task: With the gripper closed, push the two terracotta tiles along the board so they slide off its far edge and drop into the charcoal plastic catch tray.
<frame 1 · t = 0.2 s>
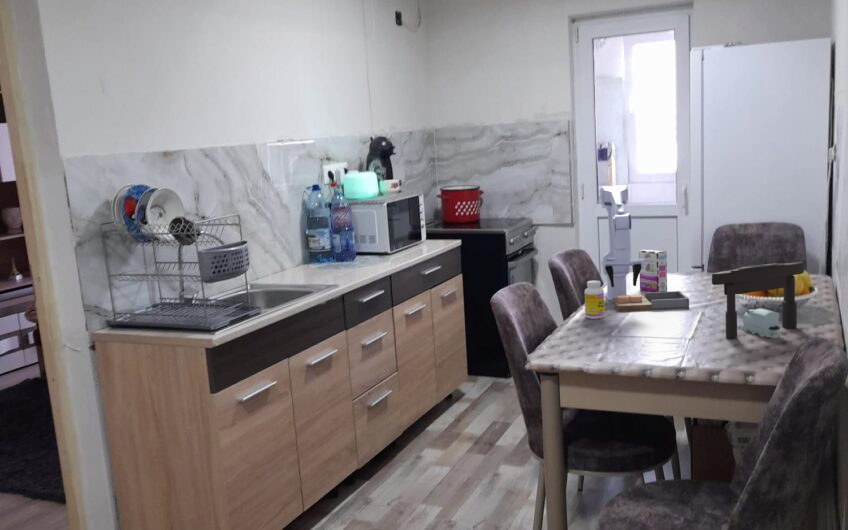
hand: (623, 286, 275), 10 cm above the table, tool pointing down, fingers open, 7 cm apart
supplement bottle: (595, 317, 273), on the table
far tile: (635, 301, 285), point 2 cm above the table, touching board
tray: (666, 304, 284), on the table
board: (631, 306, 285), on the table
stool: (759, 332, 239), on the table
near tile: (623, 301, 285), point 2 cm above the table, touching board
candy bar box: (653, 291, 310), on the table
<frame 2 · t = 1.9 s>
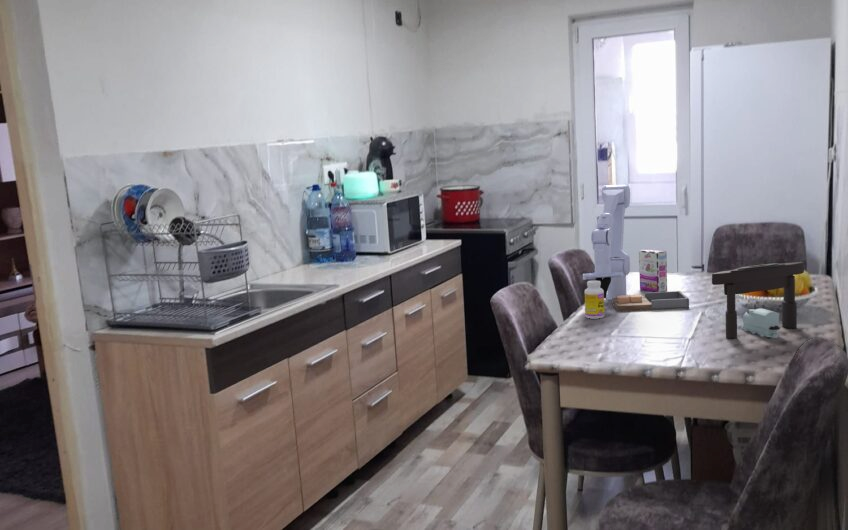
hand: (603, 297, 286), 4 cm above the table, tool pointing down, fingers closed
nothing on the table moved.
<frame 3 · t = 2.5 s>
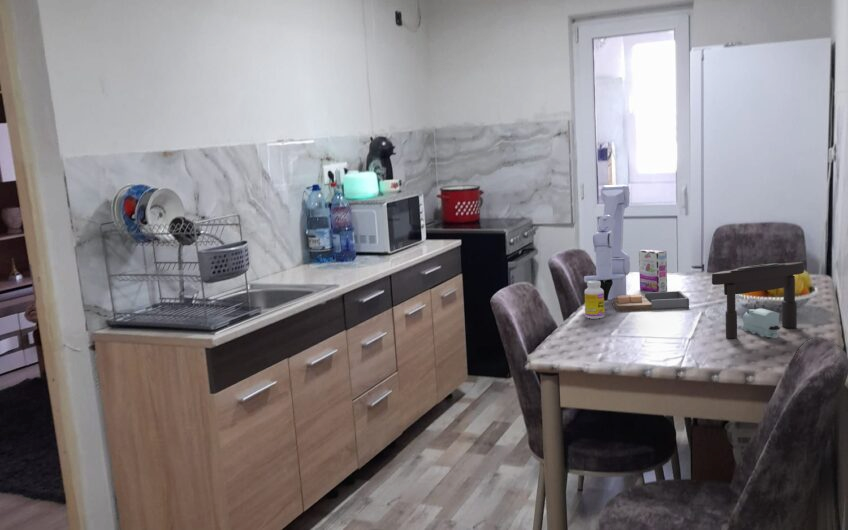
hand: (605, 300, 286), 3 cm above the table, tool pointing down, fingers closed
nothing on the table moved.
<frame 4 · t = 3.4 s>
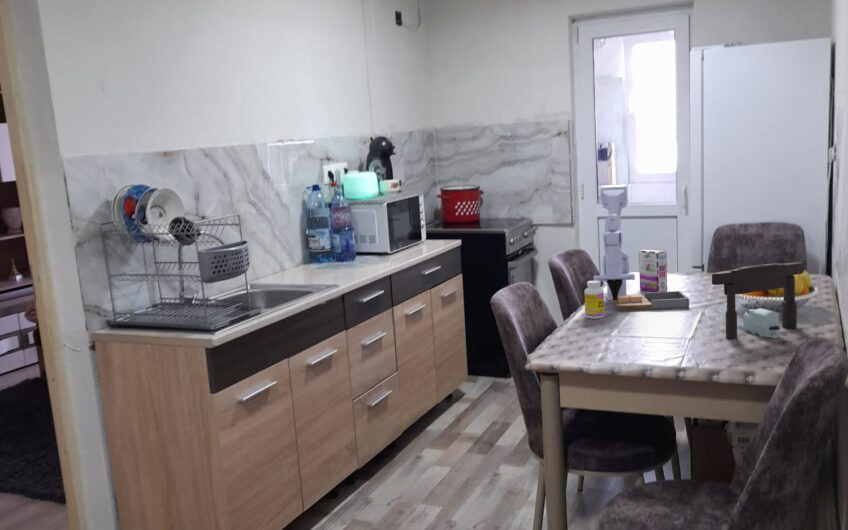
hand: (615, 299, 286), 3 cm above the table, tool pointing down, fingers closed
near tile: (623, 301, 285), point 2 cm above the table, touching board, gripper
everything else where it was.
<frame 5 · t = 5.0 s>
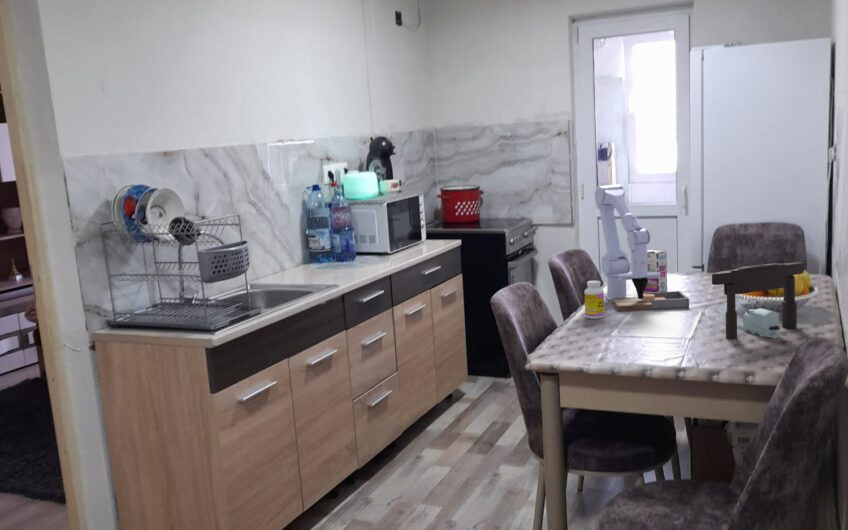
hand: (640, 298, 284), 3 cm above the table, tool pointing down, fingers closed
far tile: (659, 304, 284), resting on tray
near tile: (648, 300, 284), point 2 cm above the table, touching board, gripper
everything else where it was.
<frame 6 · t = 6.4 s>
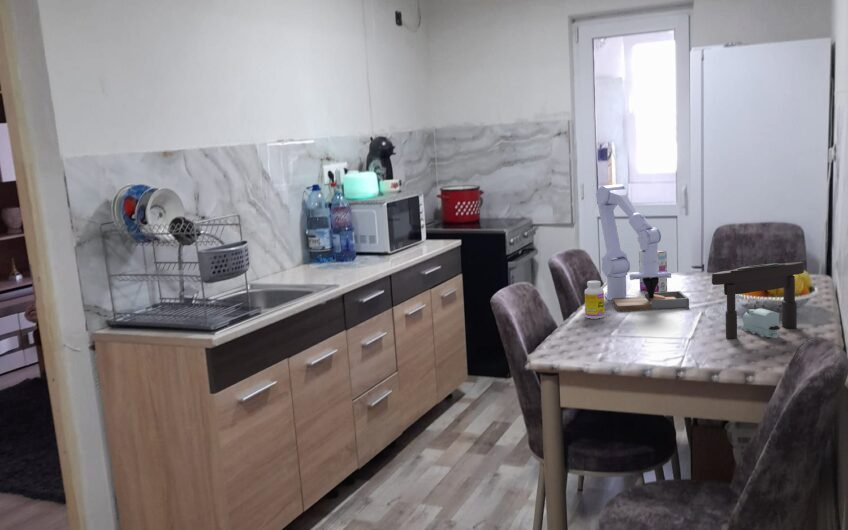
hand: (650, 297, 284), 3 cm above the table, tool pointing down, fingers closed
far tile: (669, 303, 284), resting on tray, touching near tile
near tile: (657, 301, 284), point 2 cm above the table, tilted 13°, touching far tile, gripper
everything else where it was.
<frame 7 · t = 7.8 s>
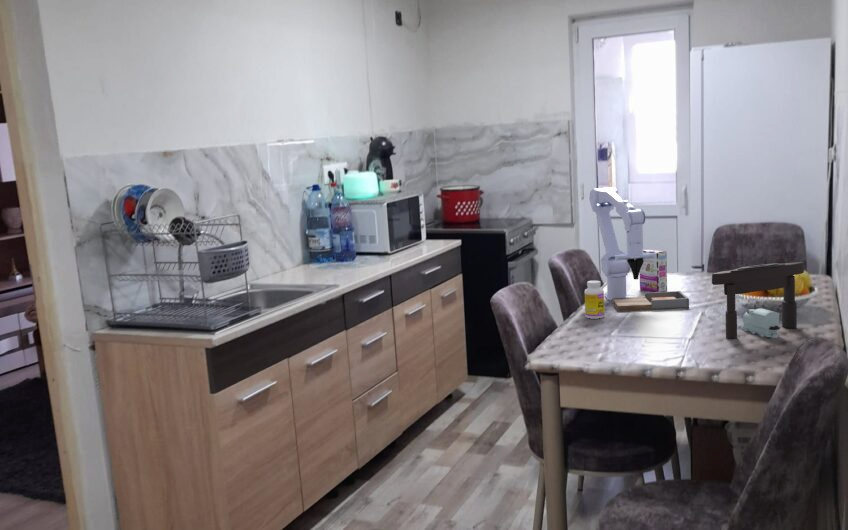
hand: (635, 278, 285), 10 cm above the table, tool pointing down, fingers closed
far tile: (669, 303, 284), resting on tray
near tile: (658, 304, 284), resting on tray
everything else where it was.
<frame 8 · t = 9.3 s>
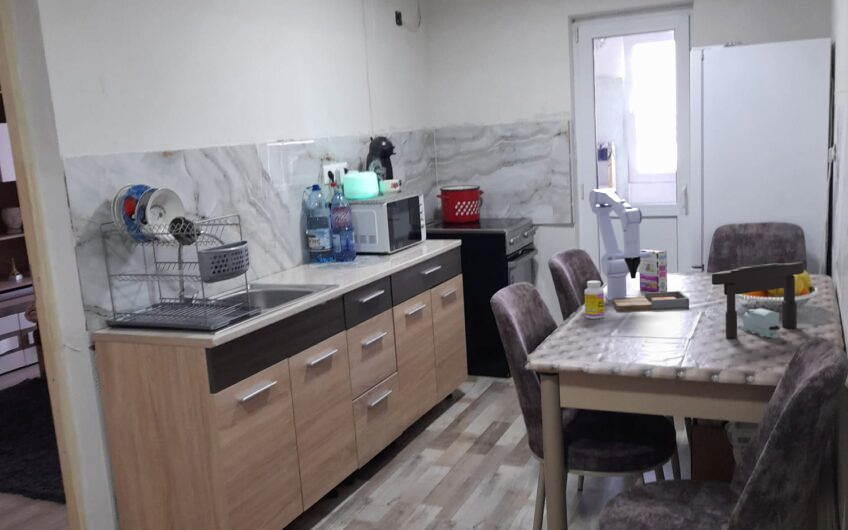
hand: (633, 278, 285), 10 cm above the table, tool pointing down, fingers closed
nothing on the table moved.
at the end: near tile inside the target area (3.5 cm from its centre), point 0.5 cm above the table; far tile inside the target area (0.7 cm from its centre), point 0.5 cm above the table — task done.
